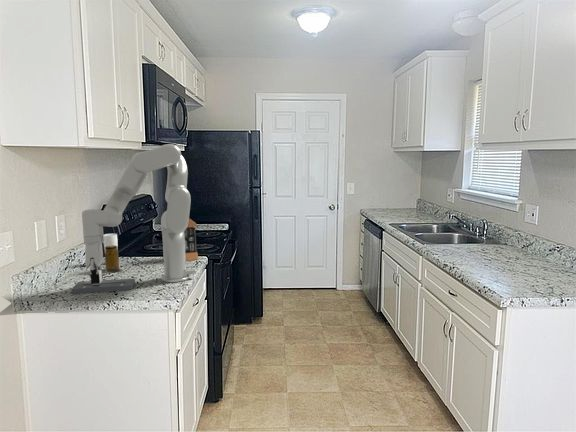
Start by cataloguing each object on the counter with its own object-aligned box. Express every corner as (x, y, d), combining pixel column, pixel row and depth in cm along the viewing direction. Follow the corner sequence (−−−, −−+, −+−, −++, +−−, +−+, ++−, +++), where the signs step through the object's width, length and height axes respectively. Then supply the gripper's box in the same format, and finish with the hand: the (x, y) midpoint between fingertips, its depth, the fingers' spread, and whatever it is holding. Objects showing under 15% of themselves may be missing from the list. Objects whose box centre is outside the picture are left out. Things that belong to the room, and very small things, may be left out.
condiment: (107, 268, 207) (106, 244, 205) (125, 268, 208) (124, 244, 206) (102, 272, 200) (101, 248, 198) (121, 272, 200) (119, 247, 199)
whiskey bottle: (198, 259, 223) (196, 200, 219) (179, 261, 219) (177, 201, 215) (193, 255, 233) (191, 198, 228) (175, 257, 228) (173, 199, 224)
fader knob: (102, 281, 178) (101, 269, 177) (99, 284, 174) (98, 272, 173) (94, 281, 177) (93, 270, 176) (92, 284, 173) (91, 273, 172)
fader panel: (135, 282, 183) (134, 278, 183) (131, 289, 174) (131, 284, 173) (78, 286, 179) (78, 281, 179) (71, 293, 169) (71, 288, 169)
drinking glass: (118, 264, 215) (116, 235, 213) (104, 265, 213) (102, 236, 211) (119, 260, 221) (117, 233, 219) (105, 261, 220) (103, 233, 217)
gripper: (89, 235, 180) (92, 276, 183) (78, 243, 164) (81, 288, 166) (107, 234, 182) (110, 275, 184) (98, 242, 165) (102, 287, 168)
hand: (97, 281), depth 175 cm, fingers closed on fader knob, 4 cm apart
